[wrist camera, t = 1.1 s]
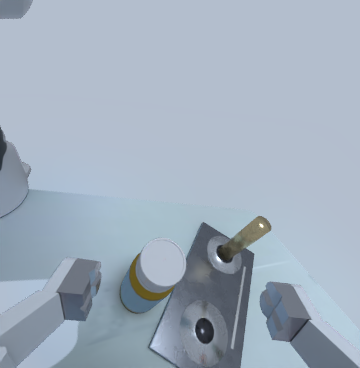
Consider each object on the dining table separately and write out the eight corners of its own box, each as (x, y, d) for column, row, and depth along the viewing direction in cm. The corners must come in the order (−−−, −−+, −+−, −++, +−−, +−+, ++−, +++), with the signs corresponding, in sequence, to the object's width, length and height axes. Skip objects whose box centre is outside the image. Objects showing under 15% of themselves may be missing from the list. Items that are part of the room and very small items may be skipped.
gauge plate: (148, 347, 30) (184, 338, 19) (201, 224, 49) (233, 186, 39) (231, 403, 29) (316, 426, 18) (251, 255, 49) (297, 225, 38)
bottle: (151, 265, 38) (176, 229, 28) (163, 303, 34) (198, 278, 24) (115, 278, 34) (130, 241, 24) (125, 321, 31) (147, 300, 20)
